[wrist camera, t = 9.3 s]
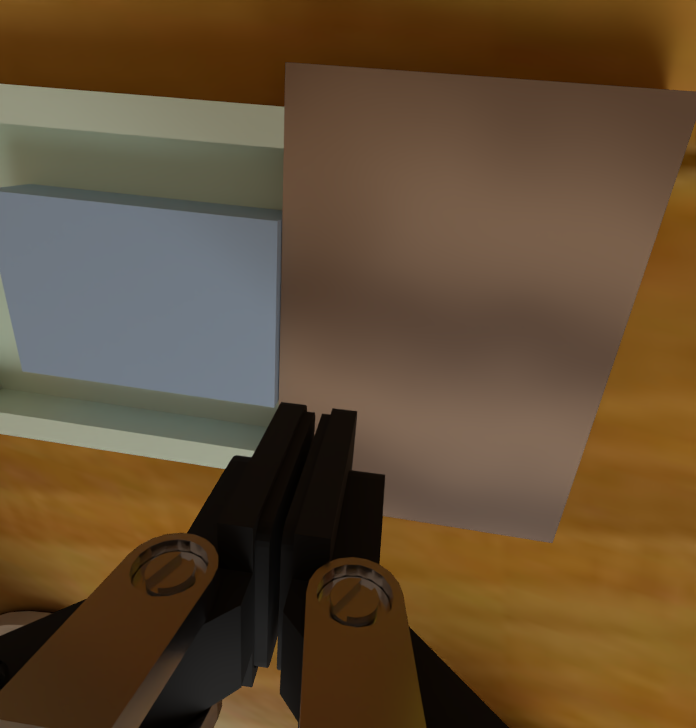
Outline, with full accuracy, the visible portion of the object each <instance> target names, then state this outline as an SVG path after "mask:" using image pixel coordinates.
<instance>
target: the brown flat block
mask: <svg viewBox="0 0 696 728" xmlns="http://www.w3.org/2000/svg"><path fill="white" fill-rule="evenodd" d="M695 121H696V92H693V91H679V90H665V89H652V88H638V87H624V86H610V85H596V84H582V83H568V82H554V81H541V80H527V79H513V78H499V77H485V76H471V75H457V74H443V73H429V72H416V71H402V70H388V69H374V68H360V67H346V66H332V65H318V64H304V63H291V62H285V105H284V157H283V208H282V260H281V312H280V364H279V405H280V403H281V402H286V403H294V404H303V405H306V406H307V412H315V432H314V436H315V433H316V430H317V427H318V424H319V421H320V418H321V415H322V414H331V411H332V409H333V408H335V409H344V410H352V411H357V423H356V434H355V444H354V454H353V465H352V470H354V471H362V472H369V473H377V474H385V488H384V503H383V516H388V517H394V518H400V519H406V520H413V521H419V522H425V523H431V524H438V525H444V526H450V527H456V528H462V529H469V530H475V531H481V532H487V533H493V534H500V535H506V536H512V537H518V538H525V539H531V540H537V541H543V542H549V543H552V542H553V540H554V537H555V534H556V531H557V528H558V525H559V522H560V519H561V516H562V513H563V510H564V507H565V504H566V501H567V498H568V495H569V492H570V489H571V486H572V484H573V481H574V478H575V475H576V472H577V469H578V466H579V463H580V460H581V457H582V454H583V451H584V448H585V445H586V442H587V439H588V436H589V433H590V431H591V428H592V425H593V422H594V419H595V416H596V413H597V410H598V407H599V404H600V401H601V398H602V395H603V392H604V389H605V386H606V383H607V380H608V377H609V375H610V372H611V369H612V366H613V363H614V360H615V357H616V354H617V351H618V348H619V345H620V342H621V339H622V336H623V333H624V330H625V327H626V324H627V322H628V319H629V316H630V313H631V310H632V307H633V304H634V301H635V298H636V295H637V292H638V289H639V286H640V283H641V280H642V277H643V274H644V271H645V268H646V266H647V263H648V260H649V257H650V254H651V251H652V248H653V245H654V242H655V239H656V236H657V233H658V230H659V227H660V224H661V221H662V218H663V215H664V212H665V210H666V207H667V204H668V201H669V198H670V195H671V192H672V189H673V186H674V183H675V180H676V177H677V174H678V171H679V168H680V165H681V162H682V159H683V157H684V154H685V151H686V148H687V145H688V142H689V139H690V136H691V133H692V130H693V127H694V124H695Z"/></svg>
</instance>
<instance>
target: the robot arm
mask: <svg viewBox="0 0 696 728" xmlns="http://www.w3.org/2000/svg"><path fill="white" fill-rule="evenodd" d="M356 423H357V411H352V410H344V409H335V408H333V409H332V411H331V414H322V415H321V418H320V421H319V424H318V427H317V430H316V433H315V436H314V432H315V412H307V406H306V405H303V404H294V403H286V402H281V403H280V405H279V407H278V409H277V410H276V412H275V414H274V416H273V418H272V420H271V422H270V424H269V426H268V427H267V429H266V431H265V433H264V435H263V437H262V439H261V441H260V442H259V444H258V446H257V448H256V450H255V452H254V454H253V456H252V457H247V456H239V455H236V456H233V458H232V459H231V460H230V462H229V464H228V465H227V467H226V469H225V470H224V472H223V474H222V475H221V477H220V479H219V480H218V482H217V484H216V485H215V487H214V489H213V490H212V492H211V494H210V496H209V497H208V499H207V501H206V502H205V504H204V506H203V507H202V509H201V511H200V512H199V514H198V516H197V517H196V519H195V521H194V522H193V524H192V526H191V527H190V529H189V531H188V532H187V533H173V534H166V535H162V536H159V537H155V538H152V539H150V540H148V541H147V542H145V543H143V544H141V545H139V546H138V547H137V548H135V549H134V550H133V551H132V552H131V553H129V554H128V555H127V556H126V557H125V559H124V560H123V561H122V562H121V563H120V564H119V565H118V566H117V567H116V568H115V569H114V570H113V571H112V572H111V573H110V575H109V576H108V577H107V578H106V579H105V580H104V581H103V582H102V583H101V584H100V585H99V586H98V587H97V588H96V589H95V590H94V592H93V593H92V594H91V595H90V596H89V597H88V598H87V599H85V600H83V601H80V602H78V603H76V604H73V605H71V606H69V607H66V608H64V609H62V610H59V611H57V612H55V613H47V612H36V611H22V612H10V613H6V614H2V615H0V728H213V727H214V725H215V723H216V721H217V719H218V717H219V714H220V711H221V708H222V699H224V698H225V697H227V696H228V695H230V694H232V693H233V692H235V691H236V690H238V689H239V688H241V686H247V687H252V686H253V683H254V679H255V676H256V672H257V669H258V666H259V667H266V668H268V667H269V665H270V662H271V658H272V655H273V651H274V647H275V644H276V640H277V637H278V651H277V669H278V670H281V679H280V695H281V696H282V698H283V699H284V701H285V702H286V704H287V705H288V707H289V709H290V710H291V712H292V713H293V715H294V716H295V718H296V719H297V721H298V728H509V727H508V726H507V725H506V724H505V723H504V722H503V721H502V720H501V719H500V718H499V717H498V716H497V715H496V714H495V713H494V712H493V711H492V710H491V709H490V708H489V707H488V706H487V705H486V704H485V703H484V702H483V701H482V700H481V699H480V698H479V697H478V696H477V695H476V694H475V693H474V692H473V691H472V690H471V689H470V688H469V687H468V686H467V685H466V684H465V683H464V682H463V681H462V680H461V679H460V678H459V677H458V676H457V675H456V674H455V673H454V672H453V671H452V670H451V669H450V668H449V667H448V666H447V665H446V664H445V663H444V662H443V661H442V660H441V659H440V658H439V657H438V656H437V655H436V653H435V652H434V651H433V650H432V649H431V648H430V647H429V646H428V645H427V644H426V643H425V642H424V641H423V640H422V639H421V638H420V637H419V636H418V635H417V634H416V633H415V632H414V631H413V630H412V629H411V628H410V627H409V625H408V619H407V614H406V608H405V602H404V596H403V593H402V590H401V587H400V585H399V582H398V581H397V580H396V579H395V577H394V576H393V575H392V574H391V572H389V571H388V570H387V569H385V568H384V567H382V566H381V565H380V564H379V561H380V547H381V532H382V518H383V503H384V488H385V474H377V473H369V472H362V471H354V470H352V465H353V454H354V444H355V434H356Z"/></svg>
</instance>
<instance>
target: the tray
mask: <svg viewBox="0 0 696 728" xmlns="http://www.w3.org/2000/svg"><path fill="white" fill-rule="evenodd" d="M283 157H284V107H281V106H269V105H256V104H244V103H232V102H219V101H207V100H195V99H183V98H170V97H158V96H146V95H133V94H121V93H109V92H96V91H84V90H72V89H59V88H47V87H35V86H22V85H10V84H0V187H8V186H17V185H25V184H35V185H45V186H55V187H64V188H74V189H83V190H93V191H102V192H112V193H122V194H131V195H141V196H150V197H160V198H169V199H179V200H189V201H198V202H208V203H217V204H227V205H236V206H246V207H256V208H265V209H275V210H282V208H283ZM278 407H279V400H278V402H277V404H276V406H275V407H274V408H273V407H266V406H259V405H252V404H245V403H238V402H231V401H224V400H217V399H211V398H204V397H197V396H190V395H183V394H176V393H169V392H162V391H155V390H148V389H141V388H134V387H127V386H121V385H114V384H107V383H100V382H93V381H86V380H79V379H72V378H65V377H58V376H51V375H44V374H37V373H30V372H24V371H22V367H21V363H20V358H19V354H18V350H17V345H16V341H15V336H14V332H13V328H12V323H11V319H10V314H9V310H8V305H7V301H6V297H5V292H4V288H3V283H2V279H1V275H0V434H5V435H11V436H18V437H24V438H31V439H37V440H43V441H50V442H56V443H62V444H69V445H75V446H82V447H88V448H94V449H101V450H107V451H114V452H120V453H126V454H133V455H139V456H146V457H152V458H158V459H165V460H171V461H178V462H184V463H190V464H197V465H203V466H210V467H216V468H222V469H226V467H227V465H228V464H229V462H230V460H231V459H232V458H233V456H236V455H239V456H247V457H252V456H253V454H254V452H255V450H256V448H257V446H258V444H259V442H260V441H261V439H262V437H263V435H264V433H265V431H266V429H267V427H268V426H269V424H270V422H271V420H272V418H273V416H274V414H275V412H276V410H277V409H278Z"/></svg>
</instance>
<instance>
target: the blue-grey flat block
mask: <svg viewBox="0 0 696 728" xmlns="http://www.w3.org/2000/svg"><path fill="white" fill-rule="evenodd" d="M281 260H282V210H275V209H265V208H256V207H246V206H236V205H227V204H217V203H208V202H198V201H189V200H179V199H169V198H160V197H150V196H141V195H131V194H122V193H112V192H102V191H93V190H83V189H74V188H64V187H55V186H45V185H35V184H25V185H17V186H8V187H0V275H1V279H2V283H3V288H4V292H5V297H6V301H7V305H8V310H9V314H10V319H11V323H12V328H13V332H14V336H15V341H16V345H17V350H18V354H19V358H20V363H21V367H22V371H24V372H30V373H37V374H44V375H51V376H58V377H65V378H72V379H79V380H86V381H93V382H100V383H107V384H114V385H121V386H127V387H134V388H141V389H148V390H155V391H162V392H169V393H176V394H183V395H190V396H197V397H204V398H211V399H217V400H224V401H231V402H238V403H245V404H252V405H259V406H266V407H273V408H274V407H275V406H276V404H277V402H278V400H279V364H280V312H281Z"/></svg>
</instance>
